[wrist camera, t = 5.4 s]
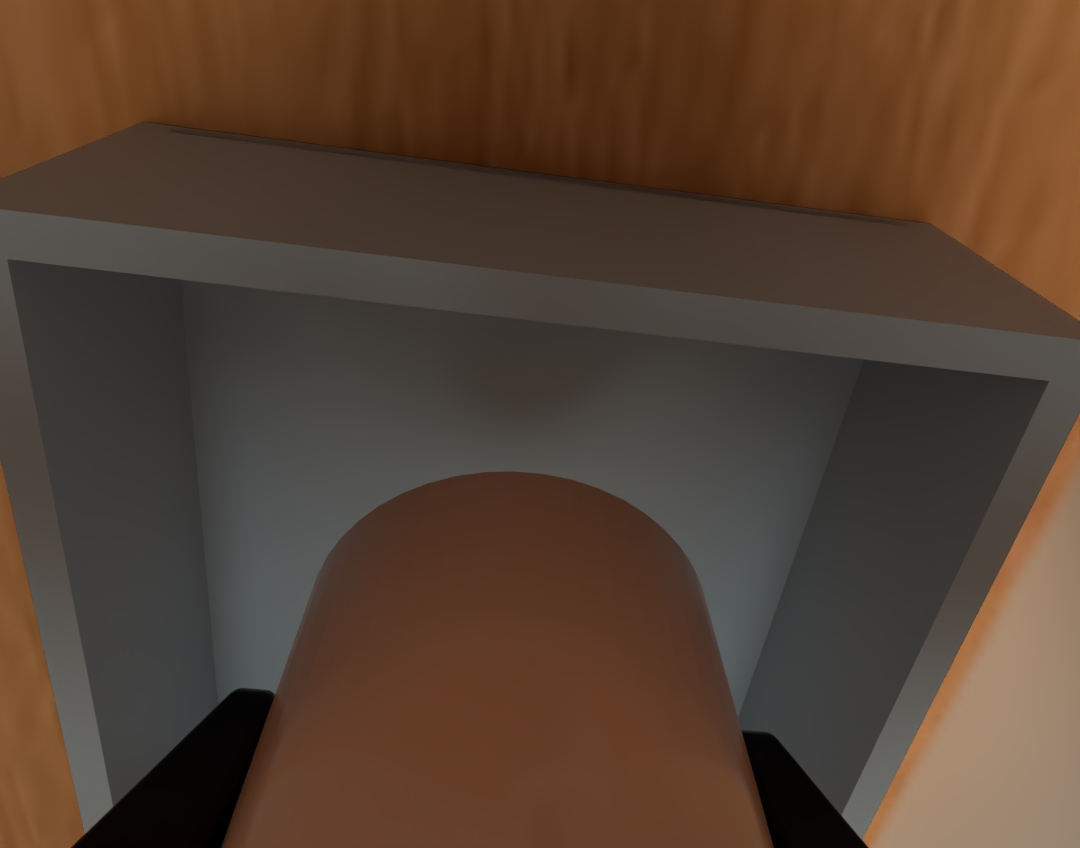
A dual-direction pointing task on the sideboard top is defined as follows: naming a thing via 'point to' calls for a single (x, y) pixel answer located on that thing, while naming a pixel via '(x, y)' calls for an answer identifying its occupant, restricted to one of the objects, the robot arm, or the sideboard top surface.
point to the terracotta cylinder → (503, 685)
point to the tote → (501, 418)
